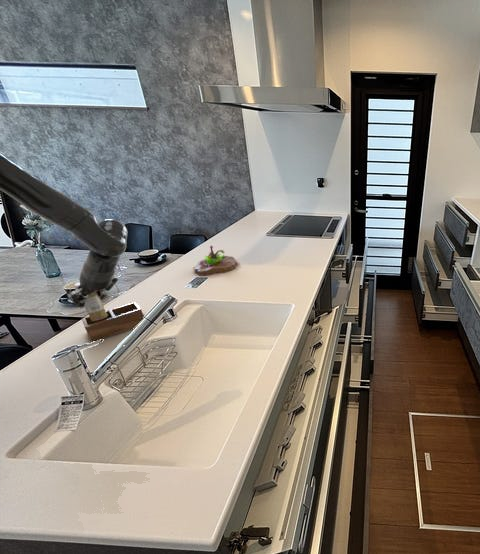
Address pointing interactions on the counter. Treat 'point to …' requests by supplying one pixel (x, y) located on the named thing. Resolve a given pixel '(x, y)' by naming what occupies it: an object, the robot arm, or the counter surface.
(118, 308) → the spice rack
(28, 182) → the robot arm
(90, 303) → the sprinkles bottle
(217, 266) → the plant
